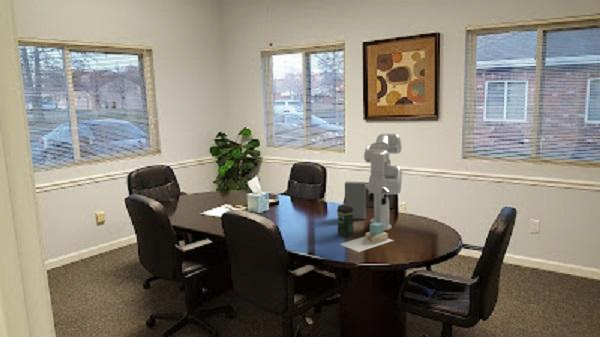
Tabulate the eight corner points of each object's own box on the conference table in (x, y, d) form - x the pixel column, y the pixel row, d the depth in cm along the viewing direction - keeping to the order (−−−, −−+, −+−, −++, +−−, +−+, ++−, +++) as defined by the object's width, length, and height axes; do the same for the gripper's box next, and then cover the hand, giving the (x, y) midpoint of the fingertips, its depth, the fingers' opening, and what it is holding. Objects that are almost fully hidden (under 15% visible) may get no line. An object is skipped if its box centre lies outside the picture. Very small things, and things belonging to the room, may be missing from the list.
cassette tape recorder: (365, 217, 311) (365, 181, 306) (365, 219, 305) (365, 183, 300) (345, 216, 313) (345, 181, 309) (344, 219, 307) (344, 183, 303)
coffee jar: (355, 235, 273) (355, 206, 270) (346, 238, 269) (345, 208, 265) (345, 231, 281) (344, 202, 278) (335, 234, 276) (334, 205, 273)
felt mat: (339, 244, 259) (339, 244, 259) (373, 234, 275) (373, 233, 275) (358, 252, 246) (358, 251, 246) (393, 241, 262) (393, 240, 262)
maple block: (365, 239, 265) (365, 232, 265) (376, 236, 271) (376, 229, 270) (376, 243, 258) (376, 236, 257) (387, 239, 263) (387, 233, 263)
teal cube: (369, 232, 264) (369, 223, 263) (376, 230, 267) (376, 221, 266) (376, 235, 260) (376, 226, 259) (383, 233, 263) (383, 224, 262)
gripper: (362, 172, 262) (362, 201, 266) (384, 177, 249) (383, 207, 252) (371, 170, 267) (371, 198, 270) (393, 175, 253) (393, 204, 256)
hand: (377, 202), depth 261 cm, fingers open, 9 cm apart
